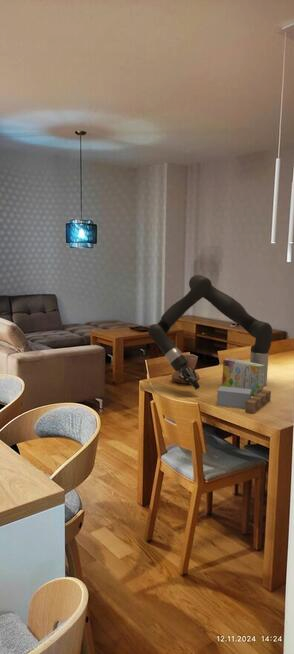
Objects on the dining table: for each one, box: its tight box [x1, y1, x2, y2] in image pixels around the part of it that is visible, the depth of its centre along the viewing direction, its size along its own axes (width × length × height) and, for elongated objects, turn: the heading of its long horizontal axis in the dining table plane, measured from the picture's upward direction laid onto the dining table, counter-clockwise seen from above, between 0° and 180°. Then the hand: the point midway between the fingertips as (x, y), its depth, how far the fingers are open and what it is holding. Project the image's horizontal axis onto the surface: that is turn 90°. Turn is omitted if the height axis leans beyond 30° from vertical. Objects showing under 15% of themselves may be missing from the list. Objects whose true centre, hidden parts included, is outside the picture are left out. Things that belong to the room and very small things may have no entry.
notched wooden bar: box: [244, 389, 272, 415], centre depth 211 cm, size 24×4×4 cm, turn 148°
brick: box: [216, 385, 252, 410], centre depth 212 cm, size 8×14×7 cm, turn 73°
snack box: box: [221, 357, 265, 397], centre depth 234 cm, size 21×6×15 cm, turn 44°
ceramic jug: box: [171, 353, 200, 385], centre depth 247 cm, size 18×14×14 cm
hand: (198, 388), depth 223 cm, fingers closed
